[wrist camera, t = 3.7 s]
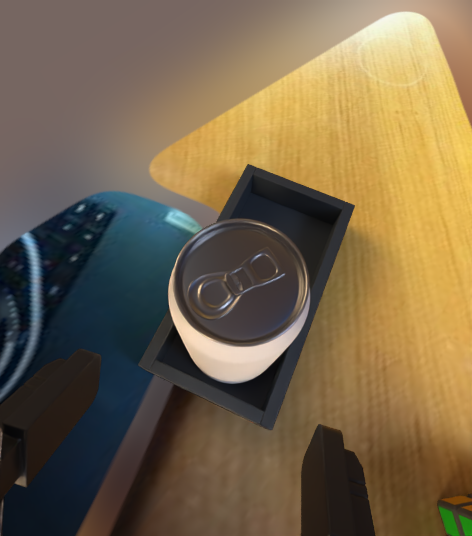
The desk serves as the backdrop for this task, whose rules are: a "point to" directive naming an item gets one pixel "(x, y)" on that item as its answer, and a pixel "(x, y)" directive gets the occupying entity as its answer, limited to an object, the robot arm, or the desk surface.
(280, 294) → the can
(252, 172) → the tray
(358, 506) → the robot arm
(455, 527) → the puzzle toy
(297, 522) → the desk surface
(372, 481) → the desk surface
